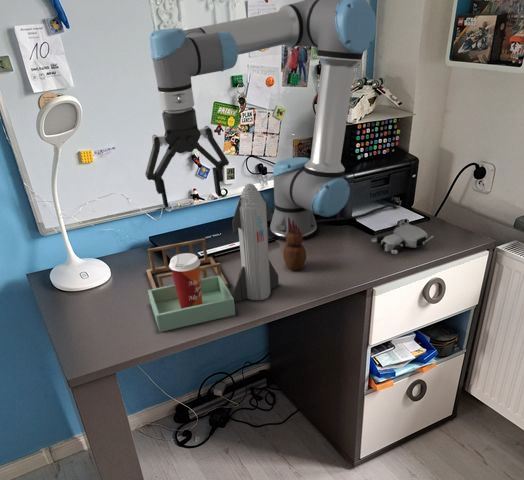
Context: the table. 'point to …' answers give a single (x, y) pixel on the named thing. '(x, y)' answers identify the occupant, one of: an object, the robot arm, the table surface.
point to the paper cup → (187, 279)
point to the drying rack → (166, 267)
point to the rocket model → (253, 246)
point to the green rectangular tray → (213, 306)
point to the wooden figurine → (294, 248)
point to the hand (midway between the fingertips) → (192, 200)
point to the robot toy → (402, 238)
